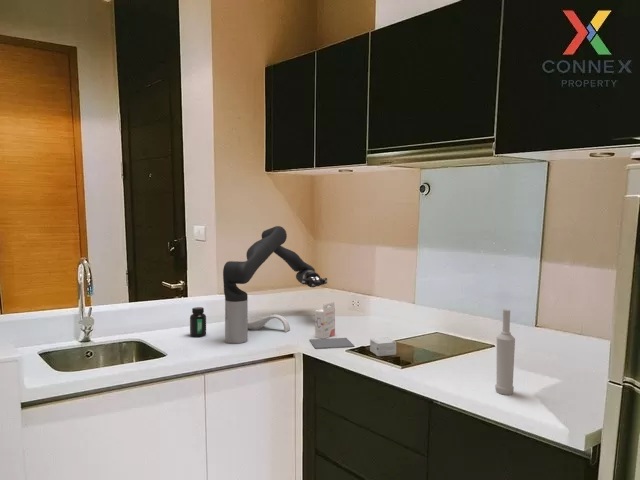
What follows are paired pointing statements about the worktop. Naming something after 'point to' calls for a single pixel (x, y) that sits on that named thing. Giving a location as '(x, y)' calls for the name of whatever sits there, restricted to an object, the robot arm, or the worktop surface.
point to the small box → (383, 346)
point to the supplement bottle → (197, 322)
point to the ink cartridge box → (325, 321)
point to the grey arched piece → (260, 322)
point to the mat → (331, 343)
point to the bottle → (505, 357)
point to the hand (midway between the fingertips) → (318, 283)
